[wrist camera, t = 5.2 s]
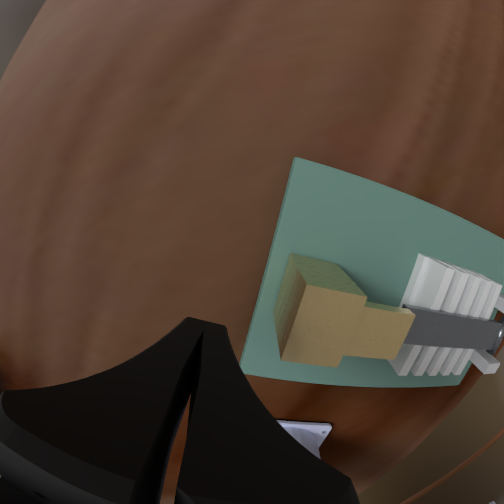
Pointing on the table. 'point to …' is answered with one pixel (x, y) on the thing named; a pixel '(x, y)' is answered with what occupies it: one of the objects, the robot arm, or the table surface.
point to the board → (379, 274)
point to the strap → (453, 330)
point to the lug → (333, 317)
